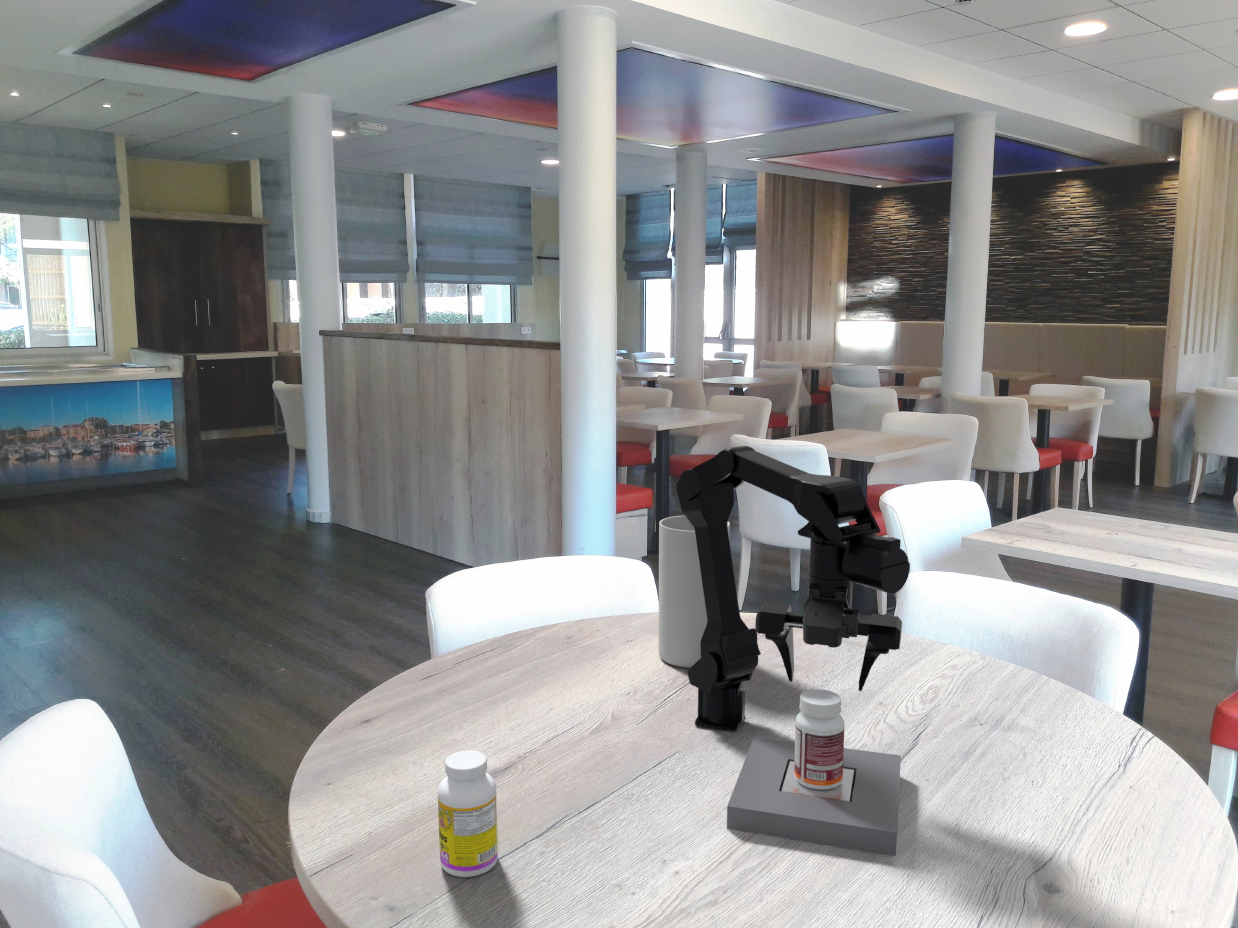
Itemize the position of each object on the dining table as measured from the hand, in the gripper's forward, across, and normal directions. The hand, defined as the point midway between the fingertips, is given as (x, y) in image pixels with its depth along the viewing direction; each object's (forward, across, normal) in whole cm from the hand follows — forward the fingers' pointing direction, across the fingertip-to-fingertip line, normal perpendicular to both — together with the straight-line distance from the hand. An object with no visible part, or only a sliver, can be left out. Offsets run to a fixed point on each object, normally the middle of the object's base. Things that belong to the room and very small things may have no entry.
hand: (825, 685), depth 130 cm
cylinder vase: (+14, -28, +36) cm, 48 cm away
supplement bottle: (+13, -36, -35) cm, 52 cm away
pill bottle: (+10, 0, -8) cm, 13 cm away
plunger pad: (+13, +1, -8) cm, 15 cm away
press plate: (+13, +1, -8) cm, 15 cm away
